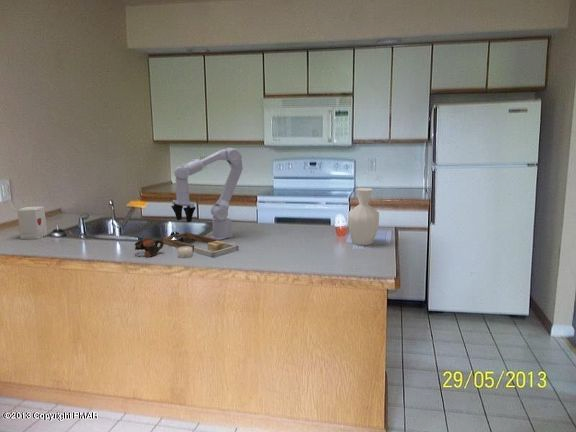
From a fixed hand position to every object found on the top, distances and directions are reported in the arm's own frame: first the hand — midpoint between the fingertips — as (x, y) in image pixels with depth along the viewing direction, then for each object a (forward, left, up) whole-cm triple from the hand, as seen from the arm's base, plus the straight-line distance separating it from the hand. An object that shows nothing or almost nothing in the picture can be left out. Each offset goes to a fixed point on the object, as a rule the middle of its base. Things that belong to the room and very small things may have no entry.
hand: (184, 220), depth 215 cm
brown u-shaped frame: (+2, +6, -10) cm, 12 cm away
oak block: (+2, +25, -10) cm, 27 cm away
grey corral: (+2, +25, -10) cm, 27 cm away
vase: (-49, +68, -10) cm, 84 cm away
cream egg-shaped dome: (+15, +20, -10) cm, 27 cm away
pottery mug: (+23, +6, -10) cm, 26 cm away
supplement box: (+42, -67, -10) cm, 80 cm away
